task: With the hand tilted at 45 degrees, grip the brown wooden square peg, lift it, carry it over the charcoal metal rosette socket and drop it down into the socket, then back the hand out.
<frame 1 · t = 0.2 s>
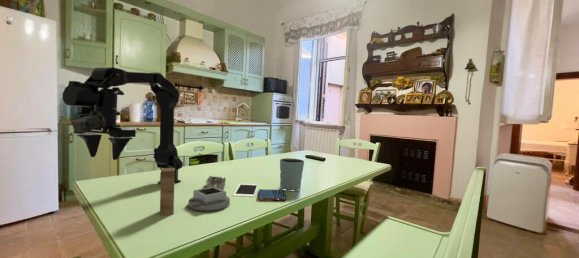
hand: (103, 158, 80), 14 cm above the table, tool pointing down, fingers open, 9 cm apart
brown wooden square peg: (166, 212, 76), on the table
woven mat: (271, 198, 96), on the table
rosette socket: (209, 204, 85), on the table
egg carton: (215, 187, 105), on the table
cell phone: (246, 191, 103), on the table
grey cup: (290, 188, 108), on the table
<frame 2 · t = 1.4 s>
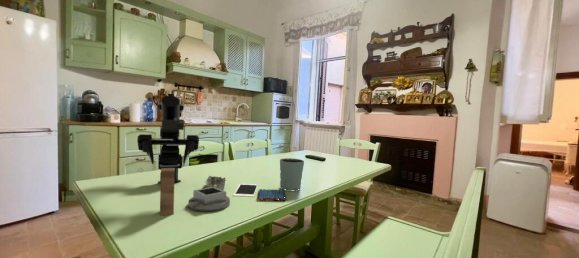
hand: (168, 163, 83), 13 cm above the table, tool tilted 45°, fingers open, 9 cm apart
nothing on the table moved.
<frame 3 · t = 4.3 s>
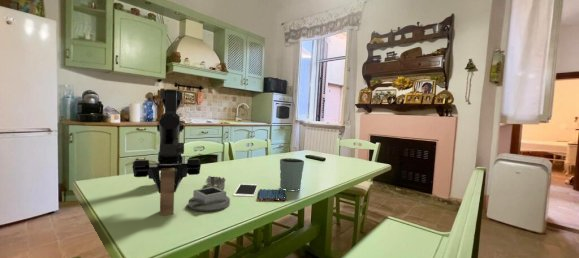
hand: (167, 192, 75), 7 cm above the table, tool tilted 45°, fingers closed on brown wooden square peg, 4 cm apart
brown wooden square peg: (166, 212, 76), on the table, touching gripper
everything else where it was.
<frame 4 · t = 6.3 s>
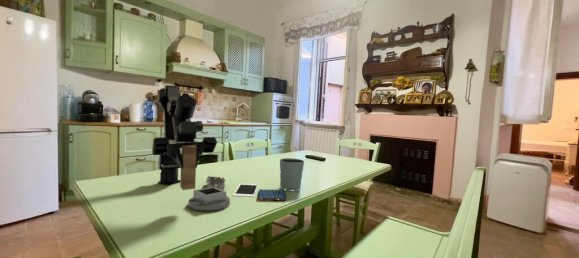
hand: (189, 167, 78), 13 cm above the table, tool tilted 45°, fingers closed on brown wooden square peg, 4 cm apart
brown wooden square peg: (187, 187, 79), point 7 cm above the table, touching gripper
everything else where it was.
when the fingers open (9 cm above the table, at t = 8.7 s): brown wooden square peg stays where it is, resting on rosette socket.
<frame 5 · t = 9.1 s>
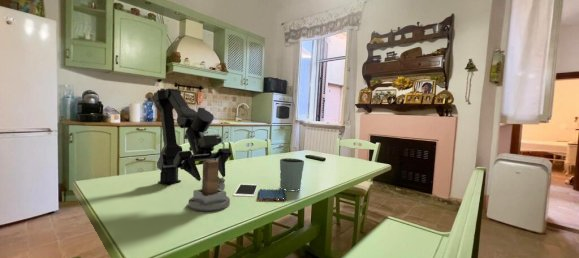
hand: (212, 178, 83), 9 cm above the table, tool tilted 45°, fingers open, 8 cm apart
brown wooden square peg: (209, 200, 85), point 2 cm above the table, touching rosette socket
everything else where it was.
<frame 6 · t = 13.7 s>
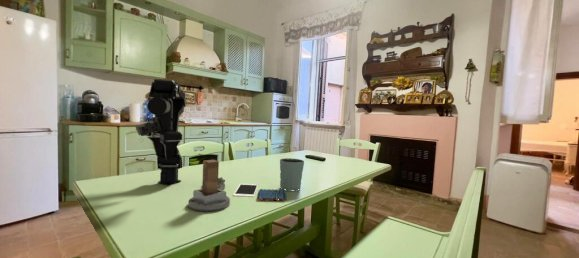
hand: (162, 157, 93), 13 cm above the table, tool pointing down, fingers open, 9 cm apart
nothing on the table moved.
at the end: brown wooden square peg 0.0 cm off-centre on the rosette socket, point 1.5 cm above the rosette socket's base; brown wooden square peg tilted 0°; the gripper is holding nothing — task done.
